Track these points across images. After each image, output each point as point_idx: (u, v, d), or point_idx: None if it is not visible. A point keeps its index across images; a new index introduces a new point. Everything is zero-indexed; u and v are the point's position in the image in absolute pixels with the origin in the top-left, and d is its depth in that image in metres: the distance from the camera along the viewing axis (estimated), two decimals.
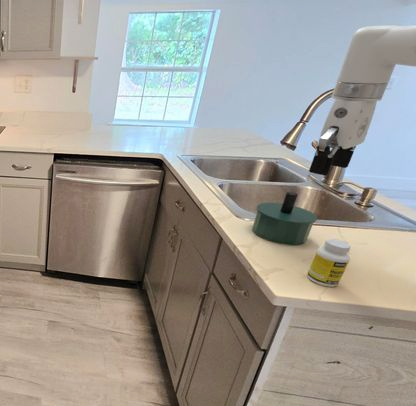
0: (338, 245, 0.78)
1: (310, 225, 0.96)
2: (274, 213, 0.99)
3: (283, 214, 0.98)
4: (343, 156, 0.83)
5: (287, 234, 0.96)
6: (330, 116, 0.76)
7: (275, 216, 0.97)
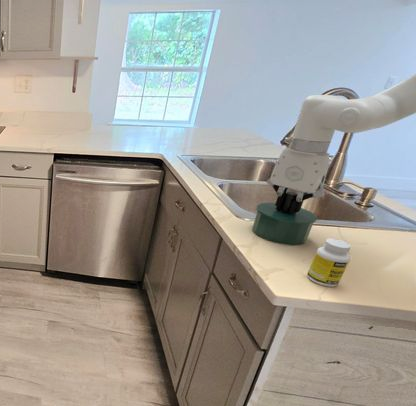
0: (338, 245, 0.78)
1: (310, 225, 0.96)
2: (274, 213, 0.99)
3: (283, 214, 0.98)
4: None
5: (287, 234, 0.96)
6: None
7: (275, 216, 0.97)
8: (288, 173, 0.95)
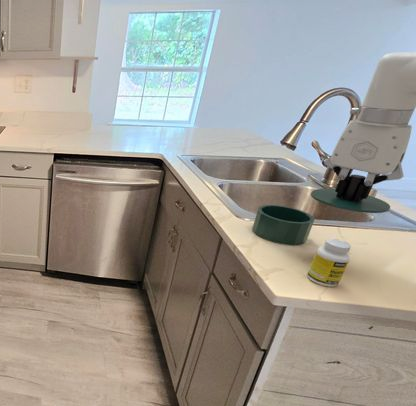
0: (338, 245, 0.78)
1: (310, 225, 0.96)
2: (335, 200, 0.82)
3: (347, 201, 0.81)
4: None
5: (287, 234, 0.96)
6: None
7: (338, 204, 0.80)
8: (356, 151, 0.78)
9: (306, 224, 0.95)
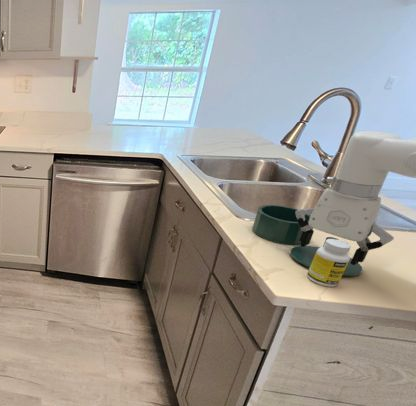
0: (338, 245, 0.78)
1: None
2: None
3: None
4: None
5: (287, 234, 0.96)
6: None
7: None
8: (331, 217, 0.84)
9: None
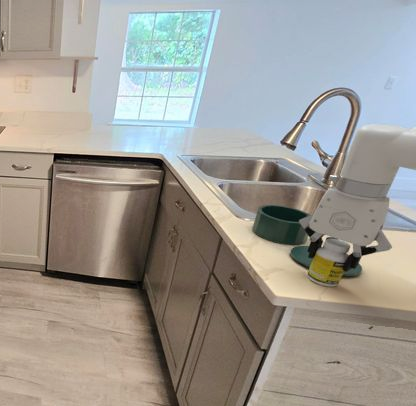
0: (338, 245, 0.78)
1: None
2: None
3: None
4: None
5: (287, 234, 0.96)
6: None
7: None
8: (334, 220, 0.76)
9: None
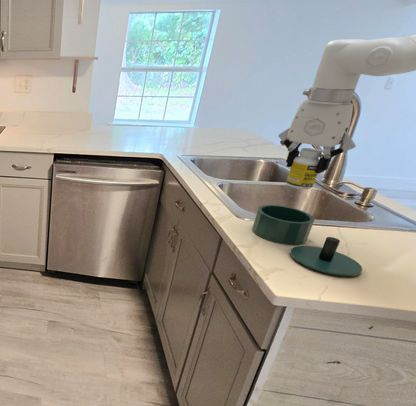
0: (311, 151, 0.90)
1: (310, 225, 0.96)
2: (312, 261, 0.88)
3: (323, 262, 0.87)
4: None
5: (287, 234, 0.96)
6: None
7: (314, 265, 0.86)
8: (307, 127, 0.89)
9: (306, 224, 0.95)
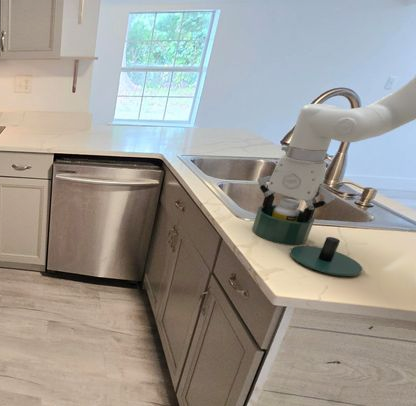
0: (289, 202, 0.97)
1: (310, 225, 0.96)
2: (312, 261, 0.88)
3: (323, 262, 0.87)
4: None
5: (287, 234, 0.96)
6: None
7: (314, 265, 0.86)
8: (285, 181, 0.96)
9: (306, 224, 0.95)
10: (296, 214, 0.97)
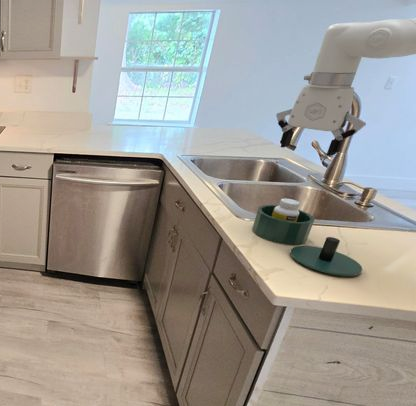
0: (289, 202, 0.97)
1: (310, 225, 0.96)
2: (312, 261, 0.88)
3: (323, 262, 0.87)
4: None
5: (287, 234, 0.96)
6: None
7: (314, 265, 0.86)
8: (308, 112, 0.89)
9: (306, 224, 0.95)
10: (296, 214, 0.97)
